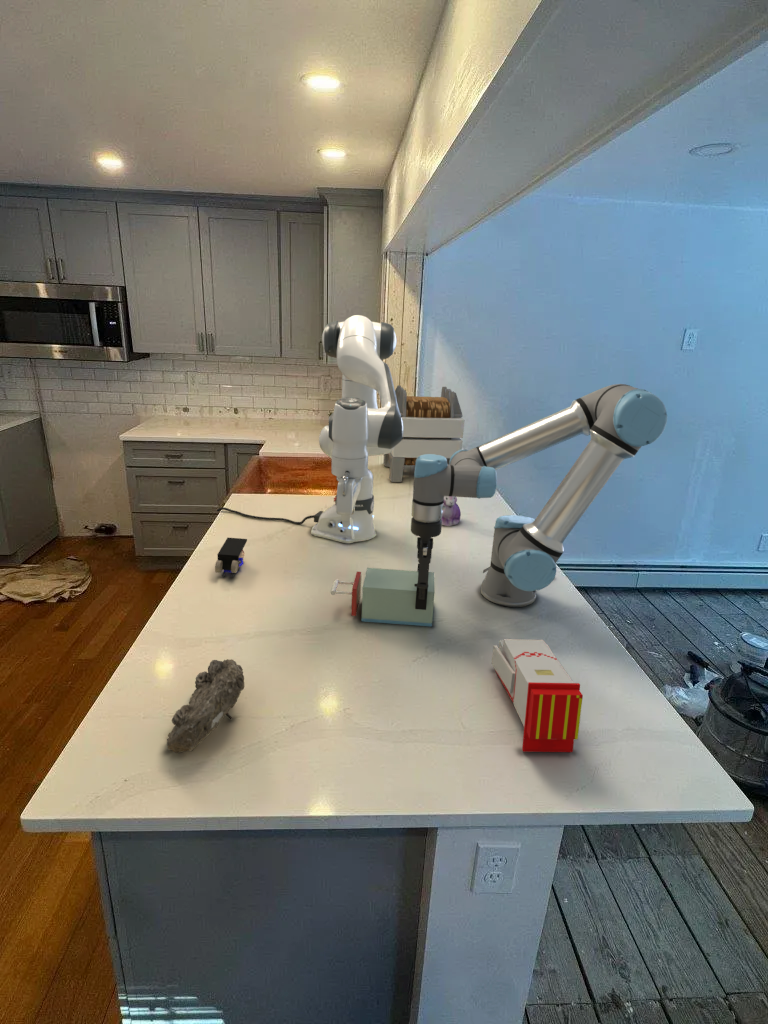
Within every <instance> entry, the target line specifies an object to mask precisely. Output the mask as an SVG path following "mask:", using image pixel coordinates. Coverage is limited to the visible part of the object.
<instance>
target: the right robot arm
mask: <svg viewBox="0 0 768 1024" xmlns="http://www.w3.org/2000/svg"><path fill="white" fill-rule="evenodd" d="M667 413H668V411H667V408H666V405H665V404H664V402H663V400H662V399H661V398H660V397H658V396H657V395H656V394H654V393H652V392H651V391H648V390H646V389H643V388H638V387H635V386H632V385H630V384H627V383H626V384H625V383H615V384H610V385H607V386H604V387H601V388H599V389H597V390H594V391H592V392H589V393H588V394H586V395H585V394H584V395H583V396H581V397H579V398H576V399H574V400H573V401H571V404H570V406H568V407H565V408H564V409H561V410H559V411H557V412H554V413H552V414H550V415H547V416H545V417H542V418H540V419H538V420H536V421H533V422H531V423H529V424H527V425H524V426H522V427H520V428H518V429H515V430H513V431H510V432H509V433H506V434H503V435H501V436H499V437H497V438H494V439H492V440H490V441H487V442H485V443H482V444H481V445H478V446H476V447H473V448H471V449H462V450H459V451H456V452H455V453H454V454H453V455H452V456H451V458H450V461H449V465H448V464H447V459H446V458H445V457H444V456H441V455H435V454H425V455H421V456H419V457H418V458H417V459H416V463H415V466H414V473H413V489H412V500H411V501H412V502H411V503H412V504H411V520H410V522H411V523H410V532H411V534H413V535H414V536H415V537H416V549H417V555H416V558H417V562H418V563H417V570H416V571H418V583H417V584H414V586H415V587H417V590H416V604H415V609H421V610H426V605H427V592H428V576H429V572H430V564H431V562H432V561H431V560H432V553H433V548H434V538H436V537H439V536H440V535H441V534H442V528H443V525H442V520H441V518H442V513H443V511H442V510H445V509H446V507H445V506H443V503H444V496H452V497H457V498H470V499H471V498H472V499H490V498H493V497H494V496H495V494H496V492H497V485H498V484H497V483H498V474H497V470H500V469H502V468H504V467H506V466H509V465H511V464H514V463H516V462H519V461H521V460H523V459H526V458H528V457H530V456H533V455H535V454H538V453H541V452H543V451H545V450H547V449H550V448H553V447H554V446H557V445H559V444H561V443H564V442H567V441H569V440H571V439H574V438H575V437H579V436H580V435H583V436H586V437H589V436H590V440H589V442H588V443H587V444H586V446H585V447H584V449H583V450H582V452H581V453H580V454H579V456H578V457H577V459H576V461H575V462H574V463H573V465H572V466H571V467H570V469H569V471H568V472H567V474H565V476H564V477H563V479H562V480H561V482H560V483H559V485H558V486H557V487H556V489H555V491H554V492H553V493H552V495H551V496H550V497H549V499H548V500H547V502H546V503H545V505H544V506H543V508H542V509H541V510H540V512H539V513H538V515H537V516H536V517H535V518H533V517H529V516H525V515H517V514H516V515H515V514H510V515H509V514H506V515H501V516H499V517H497V518H496V520H495V523H494V526H493V530H494V531H493V539H492V548H491V556H490V563H489V566H488V567H486V568H484V569H483V570H482V573H483V574H484V573H486V574H485V577H484V579H483V580H482V583H481V585H480V593H481V595H482V596H483V598H484V599H486V600H487V601H489V602H491V603H493V604H495V605H498V606H503V607H508V608H521V607H527V606H530V605H532V604H534V603H535V601H536V599H537V591H540V590H543V589H545V588H547V587H548V586H549V585H551V583H553V581H554V580H555V577H556V575H557V564H556V563H557V562H558V561H559V559H560V558H561V557H562V555H563V554H564V552H565V547H564V541H565V540H566V539H567V538H568V536H569V535H570V533H571V532H572V530H573V529H574V528H575V526H576V525H577V524H578V522H579V521H580V519H582V517H583V516H584V514H585V513H586V511H587V510H588V509H589V507H590V506H591V504H592V503H593V502H594V500H595V499H596V498H597V497H598V495H599V493H600V492H601V491H602V490H603V488H604V487H605V485H606V484H607V483H608V482H609V480H610V478H611V477H612V476H613V474H614V473H615V472H616V470H617V469H618V467H619V466H620V465H621V464H622V463H623V461H624V460H626V459H627V460H628V459H632V458H635V456H636V455H637V454H638V452H639V451H640V450H641V448H642V447H645V446H648V445H651V444H653V443H654V442H656V441H657V440H658V439H659V438H660V437H661V436H662V434H663V433H664V432H665V429H666V426H667V422H668V414H667Z"/></svg>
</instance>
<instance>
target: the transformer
mask: <svg viewBox="0 0 768 1024" xmlns="http://www.w3.org/2000/svg"><path fill="white" fill-rule="evenodd" d="M394 390H395V395H396V399H397V404H398V408H399V411H400V415H401V418H402V421H403V427H404V431H403V437H402V440H401V442H399V443H398V444H397V445H396V446H395V447H394V449H393V451H392V452H391V453H388V454H384V455H383V466H384V467H388V468H389V475H388V476H389V477H388V478H389V480H390V482H391V483H402V482H403V475H404V469H405V466H406V467H407V466H411V467H412V466H413V467H415V463H416V459H417V458H418V457H419V456H421V455H425V454H435V455H441V456H444V457H445V458H446V459H447V464H448V465H449V461H450V458H451V456H452V455H453V454H454V453H455V452H456V451H459V450H463V442H464V441H463V440H462V439H463V438H464V431H465V430H464V429H465V419H464V418H463V411H462V408H461V405H460V402H459V398H458V395H457V392H455V391H453V390H452V389H451V388H447V386H442V387H441V392H440V393H441V394H440V396H415V395H414V396H413V395H412V396H411V395H407V394H408V393H407V390H406V389H404V388H403V387H402V385H399V384H398V385H397V386H396V388H395V389H394Z"/></svg>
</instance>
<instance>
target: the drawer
mask: <svg viewBox="0 0 768 1024" xmlns="http://www.w3.org/2000/svg"><path fill="white" fill-rule="evenodd" d="M339 585H347V586H349V585H350V586H352V587H351V591H345V590H337V589H338V586H339ZM361 590H362V571H356V573H355V577H354V580H353V581H345V580H339V579H337V578H336V579H334V581H333V583H332V586H331V589H330V591H329V593H330V595H332V596H335V595H336V594H337V595H350V596H351V616H352V617H356V616H357V615H358V611H359V610H358V609H359V607H360V606H359V605H360V601H361V598H362V596H361V595H362V594H361Z"/></svg>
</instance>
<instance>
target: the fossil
mask: <svg viewBox="0 0 768 1024" xmlns="http://www.w3.org/2000/svg"><path fill="white" fill-rule="evenodd" d="M243 670H244V669H243V667H242V665H240V664H237V662H236V661H235V660H234V659H232V658H231V659H227V658H226V659H224V660H223V661H222V660H217V659H212V660H211V661H210V663H209V665H208V666H207V671H201V672H199V673H198V674H197V675H196V676H195V680H194V684H195V685H194V687H195V689H194V690H193V693H192V694H191V697H190V698H189V700H188V704H184V705H182V706H181V707H180V709H177V710H176V711H175V713H174V715H173V716H172V718H171V723H172V724H173V727H172V730H171V731H170V732H168V734H167V738H166V741H167V742H166V745H167V749H168V750H169V751H173V752H174V753H176V754H178V753H182V752H188V751H189V752H192V751H193V750H195V748H196V747H197V746H199V744H200V743H201V742H203V741H204V740H205V739H206V738H207V737H208V736H209V735H210V734H211V733H212V732H214V730H215V729H217V727H218V726H219V724H220V722H221V721H222V720H223V719H224V718H225V716H226V717H227V719H229V720H233V717H232V715H230V714H229V710H230V709H231V708H234V706H235V704H236V703H237V702H238V699H239V697H240V695H241V693H242V691H243V690H245V689H244V688H245V675H244V671H243Z"/></svg>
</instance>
